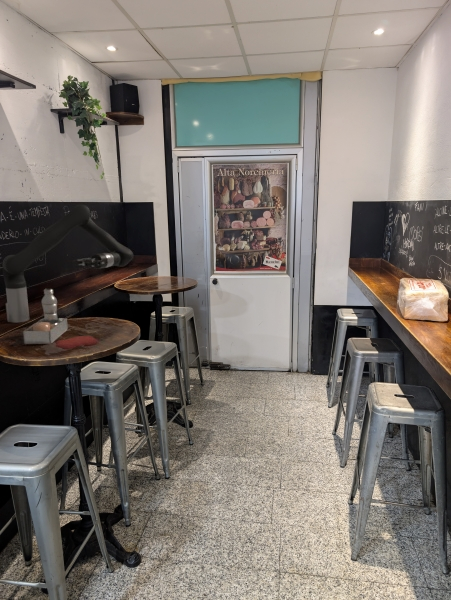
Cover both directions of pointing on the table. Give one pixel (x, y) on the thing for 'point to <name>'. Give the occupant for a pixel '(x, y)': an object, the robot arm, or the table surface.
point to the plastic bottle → (50, 307)
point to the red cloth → (76, 342)
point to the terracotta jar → (41, 326)
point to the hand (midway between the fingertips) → (78, 263)
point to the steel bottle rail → (45, 333)
